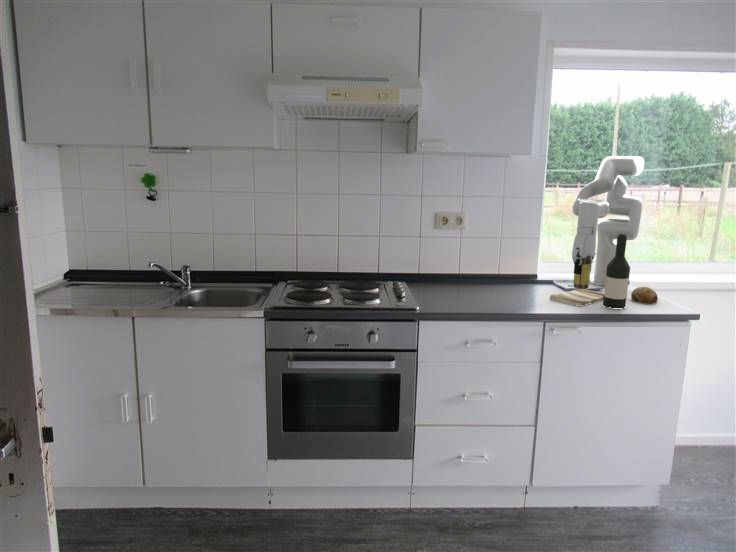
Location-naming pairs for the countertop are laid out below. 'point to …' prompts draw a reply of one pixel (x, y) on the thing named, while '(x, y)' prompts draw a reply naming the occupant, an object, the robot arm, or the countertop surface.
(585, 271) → the sauce bottle
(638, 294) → the bread roll
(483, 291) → the countertop surface
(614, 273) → the wine bottle
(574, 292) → the board
